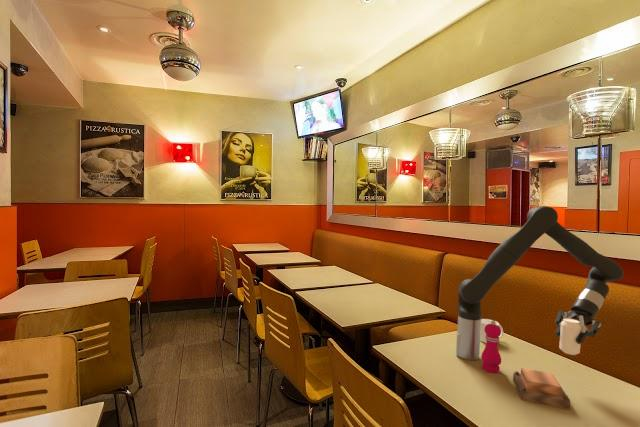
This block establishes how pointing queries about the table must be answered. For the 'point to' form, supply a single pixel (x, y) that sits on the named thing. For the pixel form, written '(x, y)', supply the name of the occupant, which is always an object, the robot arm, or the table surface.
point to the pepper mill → (491, 349)
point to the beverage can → (569, 336)
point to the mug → (482, 332)
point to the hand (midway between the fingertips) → (567, 338)
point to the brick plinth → (540, 395)
